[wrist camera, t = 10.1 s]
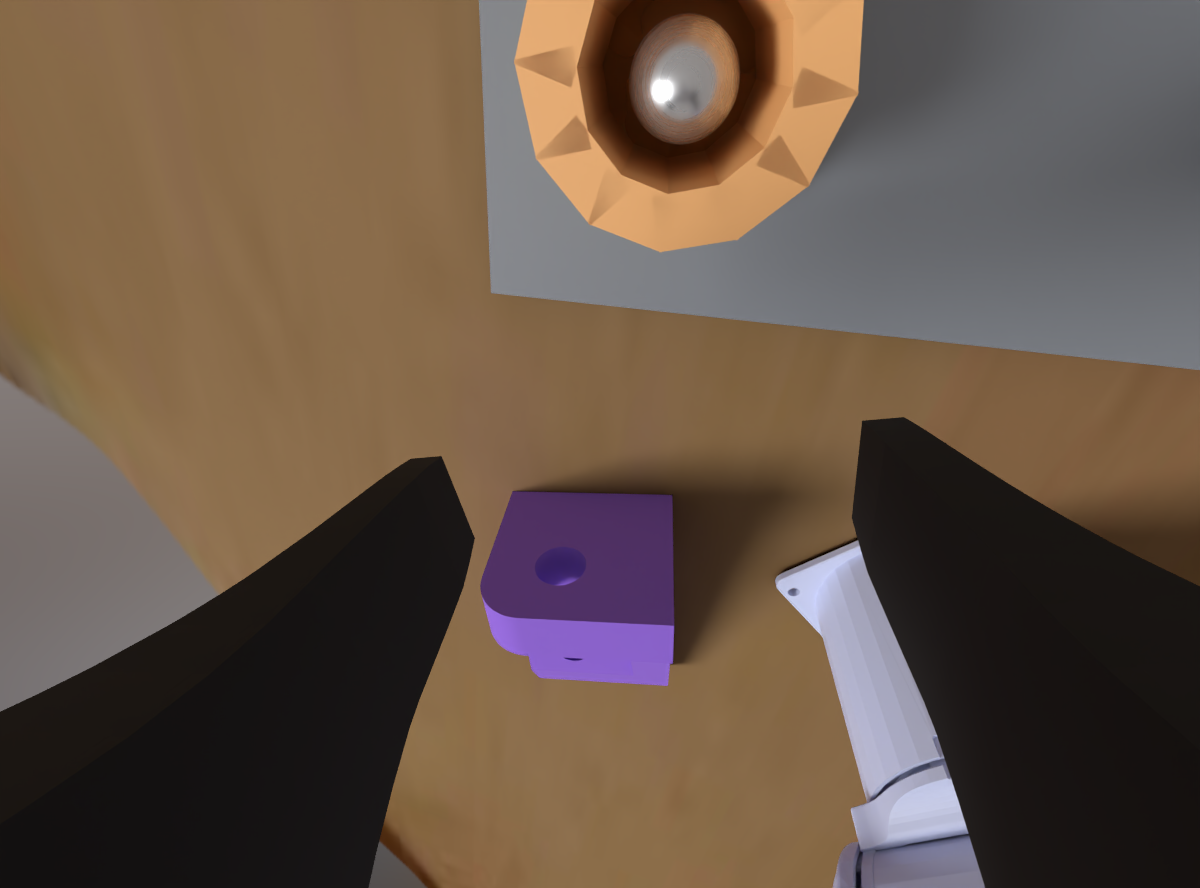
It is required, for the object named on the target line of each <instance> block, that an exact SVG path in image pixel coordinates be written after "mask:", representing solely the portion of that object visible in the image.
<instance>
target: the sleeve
mask: <svg viewBox="0 0 1200 888" xmlns="http://www.w3.org/2000/svg"><path fill="white" fill-rule="evenodd" d="M632 1H633V0H527V3H526V8H525V12H524V17H523V22H522V27H521V32H520V36H519V41H518V46H517V51H516V56H515V60H514V64H515V67H516V72H517V76H518V81H519V85H520V89H521V94H522V98H523V103H524V107H525V112H526V116H527V120H528V125H529V129H530V134H531V138H532V143H533V147H534V151H535V156H536V157H535V158H536V160H538V162H539V163H540V164H541V165H542V166H543V168H544V169H545V170H546V171H547V173H548V174H549V175H550V176H551V178H552V179H553V180H554V181H555V183H556V184H557V185H558V186H559V187H560V189H561V190H562V191H563V192H564V194H565V195H566V196H567V197H568V199H569V200H570V201H571V202H572V204H573V205H574V206H575V207H576V208H577V210H578V211H579V212H580V213H581V215H582V216H583V217H584V218H585V220H586V221H587V222H588V224H589V225H592V226H595V227H597V228H600V229H603V230H605V231H608V232H610V233H613V234H615V235H618V236H620V237H623V238H626V239H628V240H631V241H633V242H636V243H638V244H641V245H643V246H646V247H648V248H651V249H654V250H656V251H659V252H661V253H662V252H664V251H670V250H677V249H683V248H689V247H695V246H701V245H708V244H714V243H720V242H726V241H732V240H738V239H739V238H740V237H742V236H743V235H744V234H746V233H747V232H748V231H750V230H751V229H752V228H754V227H755V226H756V225H758V224H759V223H760V222H762V221H763V220H764V219H766V218H767V217H768V216H770V215H771V214H772V213H773V212H775V211H776V210H777V209H779V208H780V207H781V206H783V205H784V204H785V203H787V202H788V201H789V200H791V199H792V198H793V197H795V196H796V195H797V194H799V193H800V192H801V191H803V190H804V189H805V188H807V187H808V186H809V185H810V183H811V181H812V179H813V177H814V175H815V173H816V171H817V170H818V168H819V166H820V164H821V162H822V160H823V158H824V156H825V155H826V153H827V151H828V149H829V147H830V145H831V143H832V141H833V140H834V138H835V136H836V134H837V132H838V130H839V128H840V126H841V125H842V123H843V121H844V119H845V117H846V115H847V113H848V111H849V110H850V108H851V106H852V104H853V102H854V100H855V98H856V96H858V93H859V92H858V85H859V69H860V53H861V37H862V21H863V5H864V0H738V2H739V3H740V5H741V7H742V9H743V10H744V12H745V14H746V16H747V17H748V19H749V21H750V23H751V24H752V26H753V28H754V30H755V56H756V81H755V83H754V85H753V88H752V90H751V92H750V95H749V97H748V99H747V101H746V104H745V106H744V108H743V111H742V113H741V115H740V118H739V120H738V122H737V123H736V124H735V125H734V126H733V127H732V128H731V129H729V130H728V131H727V132H726V133H725V134H724V135H723V136H721V137H720V138H719V139H718V140H717V141H716V142H714V143H713V144H712V145H711V146H710V147H709V148H708V149H706V150H705V151H700V152H695V153H690V154H685V155H680V156H674V157H669V158H667V157H665V156H662V155H660V154H657V153H655V152H653V151H650V150H648V149H645V148H643V147H641V146H638V145H636V144H633V142H632V141H631V139H630V138H629V137H628V135H627V134H626V132H625V131H624V130H623V128H622V127H621V126H620V124H619V123H618V121H617V120H616V119H615V117H614V116H613V114H612V113H611V112H610V109H609V102H608V96H607V89H606V83H605V76H604V70H603V63H604V59H605V56H606V52H607V49H608V45H609V42H610V39H611V35H612V32H613V28H614V25H615V21H616V18H617V17H618V16H619V15H620V14H621V13H622V11H623V10H624V9H625V8H626V7H627V6H628V5H629V4H630V3H631V2H632Z"/></svg>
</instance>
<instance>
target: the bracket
mask: <svg viewBox="0 0 1200 888" xmlns="http://www.w3.org/2000/svg"><path fill="white" fill-rule="evenodd" d="M481 594H482V598H483V601H484V605H485V609H486V613H487V617H488V620H489V624H490V628H491V632H492V634H493V637H494V638H495V640H496V641H497V643H498V644H499V645H500V646H502V647H503V648H504V649H506V650H508V651H510V652H512V653H515V654H519V655H528V656H529V659H530V664H531V669H532V671H533V672H534V673H535V674H536V675H537V676H538V677H539V678H551V679H568V680H584V681H600V682H617V683H633V684H649V685H665V686H668V677H669V666H670V664H673V643H674V576H673V500H672V495H651V494H607V493H564V492H520V491H513V492H512V495H511V498H510V501H509V503H508V506H507V509H506V512H505V515H504V517H503V520H502V523H501V526H500V529H499V531H498V534H497V537H496V540H495V543H494V545H493V548H492V551H491V554H490V557H489V559H488V562H487V565H486V568H485V571H484V573H483V576H482V580H481Z"/></svg>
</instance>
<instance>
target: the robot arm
mask: <svg viewBox="0 0 1200 888" xmlns="http://www.w3.org/2000/svg"><path fill="white" fill-rule="evenodd" d="M852 520H853V524H854V527H855V531H856V535H857V538H858V540H857V541H855V542H853V543H850V544H848V545H846V546H843V547H841V548H839V549H837V550H834V551H832V552H830V553H827V554H825V555H823V556H820V557H818V558H816V559H813V560H811V561H809V562H807V563H804V564H802V565H800V566H797V567H795V568H793V569H790V570H788V571H786V572H783V573H781V574H780V575H778V576H777V577H776V579H775V583H776V587H777V589H778V590H779V591H780V592H781V593H782V594H783V595H784V596H785V597H786V599H787V600H788V601H789V602H790V603H791V604H792V605H793V606H794V607H795V608H796V609H797V610H798V611H799V612H800V613H801V614H802V616H803V617H804V618H805V619H806V620H807V621H808V622H809V623H810V624H811V625H812V626H813V627H814V628H815V629H816V630H817V631H818V632H819V634H820V635H821V636H822V637H823V640H824V644H825V647H826V651H827V655H828V659H829V662H830V666H831V670H832V673H833V677H834V681H835V685H836V688H837V692H838V696H839V699H840V703H841V707H842V710H843V714H844V718H845V722H846V725H847V729H848V733H849V736H850V740H851V744H852V748H853V751H854V755H855V759H856V762H857V766H858V770H859V773H860V777H861V781H862V785H863V788H864V792H865V796H866V799H867V803H865V804H863V805H859V806H855V807H852V809H851V813H852V817H853V821H854V825H855V829H856V833H857V837H858V842H854V843H850V844H848V845H847V846H846V847H844V849H843V850H842V852H841V854H840V857H839V861H838V865H837V872H836V875H835V879H834V883H833V888H1200V586H1197V585H1195V584H1193V583H1191V582H1189V581H1187V580H1185V579H1183V578H1181V577H1179V576H1177V575H1175V574H1173V573H1171V572H1169V571H1166V570H1164V569H1162V568H1160V567H1158V566H1156V565H1154V564H1152V563H1150V562H1148V561H1146V560H1144V559H1142V558H1140V557H1138V556H1136V555H1134V554H1132V553H1130V552H1128V551H1126V550H1124V549H1122V548H1120V547H1118V546H1116V545H1115V544H1113V543H1111V542H1109V541H1107V540H1105V539H1103V538H1101V537H1100V536H1098V535H1096V534H1094V533H1092V532H1091V531H1089V530H1087V529H1085V528H1084V527H1082V526H1080V525H1078V524H1076V523H1075V522H1073V521H1071V520H1069V519H1067V518H1066V517H1064V516H1062V515H1060V514H1058V513H1057V512H1055V511H1053V510H1051V509H1050V508H1048V507H1046V506H1045V505H1043V504H1041V503H1040V502H1038V501H1036V500H1034V499H1033V498H1031V497H1029V496H1028V495H1026V494H1024V493H1023V492H1021V491H1019V490H1018V489H1016V488H1015V487H1013V486H1011V485H1010V484H1008V483H1006V482H1005V481H1003V480H1002V479H1000V478H998V477H997V476H995V475H994V474H992V473H991V472H989V471H987V470H986V469H984V468H983V467H981V466H980V465H978V464H976V463H975V462H973V461H972V460H970V459H969V458H967V457H966V456H964V455H963V454H961V453H960V452H958V451H956V450H955V449H953V448H952V447H950V446H949V445H947V444H946V443H944V442H943V441H941V440H940V439H938V438H937V437H935V436H933V435H932V434H930V433H929V432H927V431H926V430H924V429H923V428H921V427H919V426H918V425H916V424H915V423H913V422H911V421H909V420H908V419H906V418H904V417H902V418H890V419H878V420H866V421H862V428H861V438H860V447H859V456H858V466H857V475H856V484H855V494H854V503H853V513H852ZM474 539H475V538H474V535H473V533H472V530H471V528H470V526H469V523H468V521H467V518H466V516H465V513H464V511H463V508H462V506H461V503H460V501H459V498H458V496H457V493H456V491H455V488H454V486H453V484H452V481H451V479H450V476H449V474H448V471H447V469H446V466H445V464H444V461H443V459H442V456H439V457H427V458H415V459H410V460H408V461H407V462H405V463H403V464H402V465H400V466H399V467H397V468H396V469H394V470H393V471H391V472H390V473H389V474H387V475H386V476H384V477H383V478H382V479H380V480H379V481H378V482H376V483H375V484H374V485H372V486H371V487H370V488H368V489H367V490H366V491H364V492H363V493H362V494H360V495H359V496H358V497H356V498H355V499H354V500H352V501H351V502H350V503H348V504H347V505H346V506H344V507H343V508H342V509H341V510H339V511H338V512H337V513H335V514H334V515H333V516H331V517H330V518H329V519H327V520H326V521H325V522H323V523H322V524H321V525H319V526H318V527H317V528H315V529H314V530H313V531H311V532H310V533H309V534H307V535H306V536H304V537H303V538H302V539H300V540H299V541H297V542H296V543H295V544H293V545H292V546H290V547H289V548H287V549H286V550H285V551H283V552H282V553H280V554H279V555H278V556H276V557H275V558H273V559H272V560H271V561H269V562H268V563H266V564H265V565H264V566H262V567H261V568H259V569H258V570H256V571H255V572H254V573H252V574H251V575H249V576H248V577H246V578H245V579H243V580H242V581H240V582H239V583H237V584H235V585H234V586H232V587H231V588H229V589H228V590H226V591H225V592H223V593H221V594H220V595H218V596H217V597H215V598H213V599H212V600H210V601H208V602H207V603H205V604H204V605H202V606H200V607H199V608H197V609H195V610H194V611H192V612H190V613H189V614H187V615H186V616H184V617H182V618H181V619H179V620H177V621H175V622H174V623H172V624H170V625H168V626H167V627H165V628H163V629H161V630H159V631H158V632H156V633H154V634H152V635H151V636H148V637H147V638H145V639H143V640H141V641H139V642H137V643H135V644H134V645H132V646H130V647H128V648H126V649H124V650H123V651H121V652H119V653H117V654H115V655H114V656H112V657H110V658H108V659H106V660H105V661H103V662H101V663H99V664H97V665H96V666H93V667H92V668H89V669H87V670H86V671H83V672H82V673H80V674H78V675H76V676H74V677H71V678H69V679H67V680H66V681H63V682H61V683H59V684H57V685H55V686H53V687H51V688H49V689H47V690H45V691H43V692H41V693H39V694H37V695H35V696H33V697H31V698H29V699H26V700H24V701H22V702H20V703H18V704H16V705H14V706H12V707H9V708H7V709H5V710H3V711H1V712H0V888H368V887H369V882H370V878H371V874H372V869H373V865H374V860H375V855H376V851H377V847H378V843H379V839H380V835H381V831H382V827H383V823H384V819H385V816H386V812H387V808H388V804H389V800H390V796H391V792H392V788H393V784H394V781H395V777H396V774H397V770H398V767H399V763H400V760H401V756H402V753H403V749H404V745H405V742H406V738H407V735H408V731H409V728H410V725H411V722H412V719H413V716H414V714H415V711H416V708H417V705H418V702H419V699H420V697H421V694H422V692H423V689H424V687H425V684H426V682H427V679H428V677H429V674H430V672H431V669H432V666H433V664H434V661H435V659H436V656H437V654H438V651H439V649H440V646H441V644H442V641H443V639H444V636H445V634H446V631H447V629H448V626H449V623H450V621H451V618H452V616H453V613H454V610H455V608H456V605H457V603H458V600H459V597H460V595H461V592H462V589H463V586H464V582H465V578H466V574H467V570H468V566H469V562H470V558H471V553H472V548H473V544H474ZM793 588H795V589H793Z"/></svg>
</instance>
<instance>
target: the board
mask: <svg viewBox="0 0 1200 888" xmlns="http://www.w3.org/2000/svg"><path fill="white" fill-rule="evenodd" d="M526 3H527V0H479V12H480V36H481V60H482V84H483V108H484V132H485V156H486V180H487V204H488V228H489V252H490V276H491V293H496V294H506V295H515V296H524V297H533V298H542V299H552V300H561V301H570V302H579V303H588V304H598V305H607V306H616V307H625V308H634V309H644V310H653V311H662V312H671V313H680V314H690V315H699V316H708V317H717V318H726V319H735V320H745V321H754V322H763V323H772V324H781V325H791V326H800V327H809V328H818V329H827V330H837V331H846V332H855V333H864V334H873V335H883V336H892V337H901V338H910V339H919V340H929V341H938V342H947V343H956V344H965V345H975V346H984V347H993V348H1002V349H1011V350H1021V351H1030V352H1039V353H1048V354H1057V355H1067V356H1076V357H1085V358H1094V359H1103V360H1113V361H1122V362H1131V363H1140V364H1149V365H1159V366H1168V367H1177V368H1186V369H1195V370H1200V0H864V5H863V21H862V37H861V53H860V69H859V85H858V92H859V93H858V96H856V98H855V100H854V102H853V104H852V106H851V108H850V110H849V111H848V113H847V115H846V117H845V119H844V121H843V123H842V125H841V126H840V128H839V130H838V132H837V134H836V136H835V138H834V140H833V141H832V143H831V145H830V147H829V149H828V151H827V153H826V155H825V156H824V158H823V160H822V162H821V164H820V166H819V168H818V170H817V171H816V173H815V175H814V177H813V179H812V181H811V183H810V185H809V186H808V187H807V188H805V189H804V190H803V191H801V192H800V193H799V194H797V195H796V196H795V197H793V198H792V199H791V200H789V201H788V202H787V203H785V204H784V205H783V206H781V207H780V208H779V209H777V210H776V211H775V212H773V213H772V214H771V215H770V216H768V217H767V218H766V219H764V220H763V221H762V222H760V223H759V224H758V225H756V226H755V227H754V228H752V229H751V230H750V231H748V232H747V233H746V234H744V235H743V236H742V237H740V238H739V239H738V240H732V241H726V242H720V243H714V244H708V245H701V246H695V247H689V248H683V249H677V250H670V251H664V252H662V253H661V252H659V251H656V250H654V249H651V248H648V247H646V246H643V245H641V244H638V243H636V242H633V241H631V240H628V239H626V238H623V237H620V236H618V235H615V234H613V233H610V232H608V231H605V230H603V229H600V228H597V227H595V226H592V225H589V224H588V222H587V221H586V220H585V218H584V217H583V216H582V215H581V213H580V212H579V211H578V210H577V208H576V207H575V206H574V205H573V204H572V202H571V201H570V200H569V199H568V197H567V196H566V195H565V194H564V192H563V191H562V190H561V189H560V187H559V186H558V185H557V184H556V183H555V181H554V180H553V179H552V178H551V176H550V175H549V174H548V173H547V171H546V170H545V169H544V168H543V166H542V165H541V164H540V163H539V162H538V160H536V158H535V157H536V156H535V151H534V147H533V143H532V138H531V134H530V129H529V125H528V120H527V116H526V112H525V107H524V103H523V98H522V94H521V89H520V85H519V81H518V76H517V72H516V67H515V64H514V60H515V56H516V51H517V46H518V41H519V36H520V32H521V27H522V22H523V17H524V12H525V8H526Z"/></svg>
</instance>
